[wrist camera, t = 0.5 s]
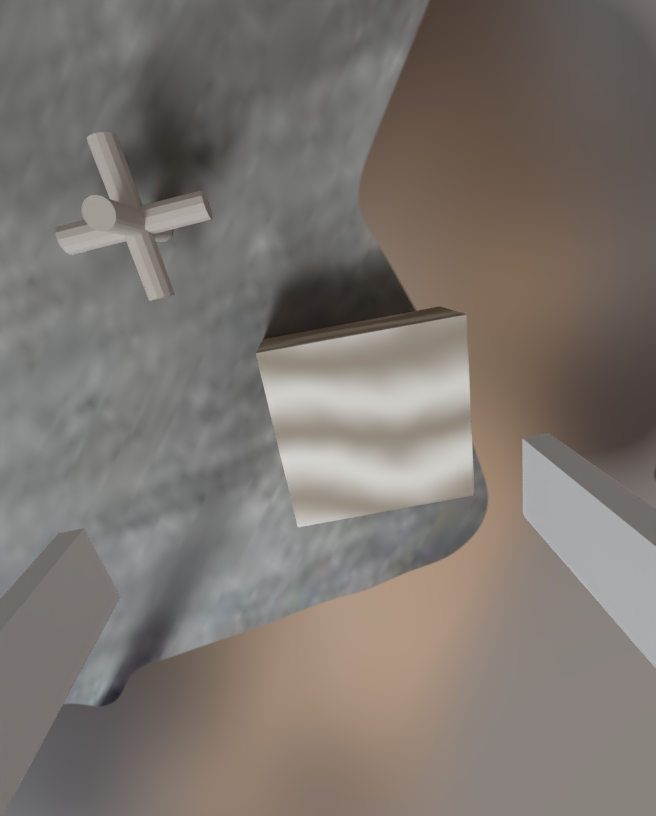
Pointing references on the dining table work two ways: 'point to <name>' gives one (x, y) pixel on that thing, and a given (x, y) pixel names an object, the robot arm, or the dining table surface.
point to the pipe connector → (130, 217)
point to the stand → (372, 413)
